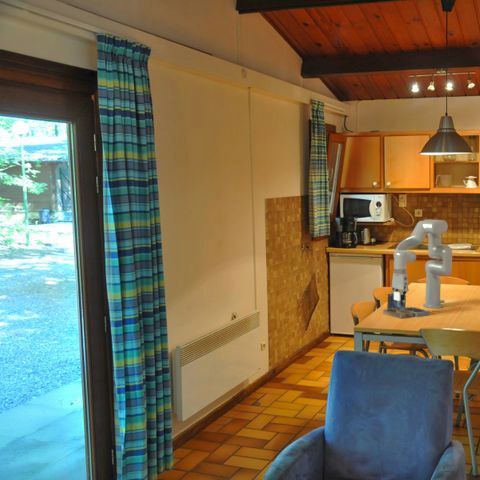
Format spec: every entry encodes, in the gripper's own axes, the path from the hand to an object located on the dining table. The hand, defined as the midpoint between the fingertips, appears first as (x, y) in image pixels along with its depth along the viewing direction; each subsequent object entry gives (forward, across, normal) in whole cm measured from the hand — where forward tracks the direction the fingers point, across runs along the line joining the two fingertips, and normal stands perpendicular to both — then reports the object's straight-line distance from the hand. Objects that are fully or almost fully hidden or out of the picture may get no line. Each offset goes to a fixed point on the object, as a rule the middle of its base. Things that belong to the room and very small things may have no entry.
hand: (399, 299), depth 448 cm
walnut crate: (+11, 0, +1) cm, 11 cm away
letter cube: (0, 0, 0) cm, 0 cm away
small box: (+11, +14, -11) cm, 21 cm away
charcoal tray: (+11, -2, -11) cm, 16 cm away
